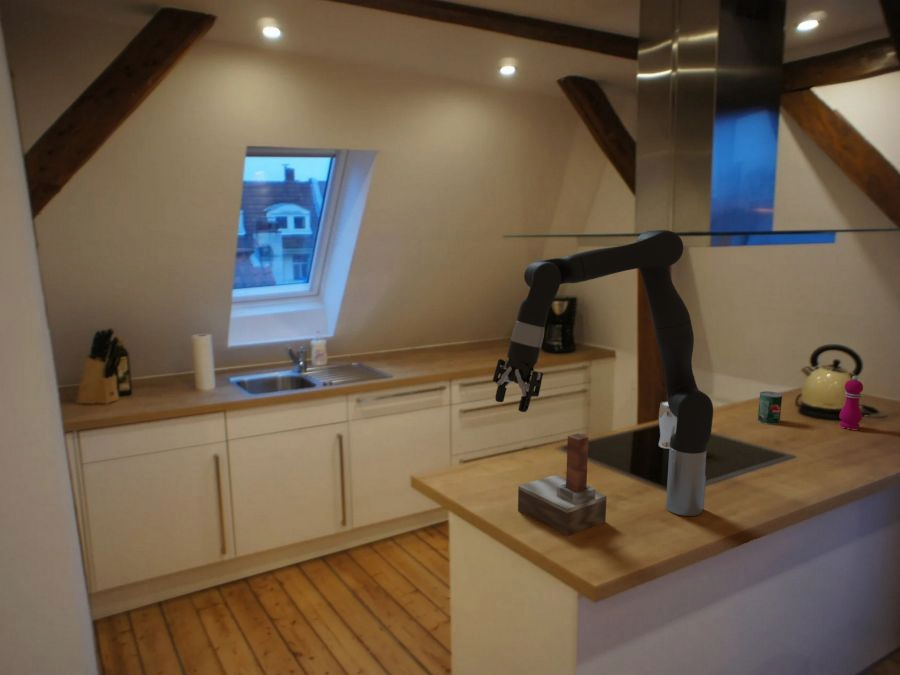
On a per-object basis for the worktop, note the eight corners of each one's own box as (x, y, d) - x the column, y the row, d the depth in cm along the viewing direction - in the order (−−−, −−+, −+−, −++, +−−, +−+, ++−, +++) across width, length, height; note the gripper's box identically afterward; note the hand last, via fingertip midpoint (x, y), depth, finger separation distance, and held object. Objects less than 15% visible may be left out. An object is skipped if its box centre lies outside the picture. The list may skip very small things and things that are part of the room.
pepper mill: (833, 425, 257) (839, 374, 253) (851, 424, 257) (857, 373, 254) (847, 431, 250) (852, 378, 246) (865, 430, 250) (871, 378, 247)
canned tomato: (778, 425, 256) (780, 397, 254) (755, 422, 260) (758, 394, 258) (781, 420, 262) (783, 393, 261) (759, 417, 267) (761, 390, 265)
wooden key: (575, 493, 174) (577, 433, 171) (586, 497, 171) (588, 437, 168) (565, 496, 172) (567, 435, 169) (575, 501, 169) (578, 439, 166)
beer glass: (678, 450, 227) (680, 407, 225) (656, 448, 230) (659, 405, 227) (678, 444, 234) (681, 402, 231) (657, 442, 236) (660, 400, 234)
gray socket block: (555, 498, 188) (556, 465, 186) (605, 521, 173) (607, 486, 172) (517, 510, 180) (518, 476, 178) (566, 535, 165) (567, 499, 164)
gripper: (557, 350, 161) (541, 416, 162) (517, 338, 172) (502, 399, 173) (535, 346, 156) (518, 414, 157) (496, 334, 167) (480, 397, 168)
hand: (510, 406), depth 165 cm, fingers open, 8 cm apart
